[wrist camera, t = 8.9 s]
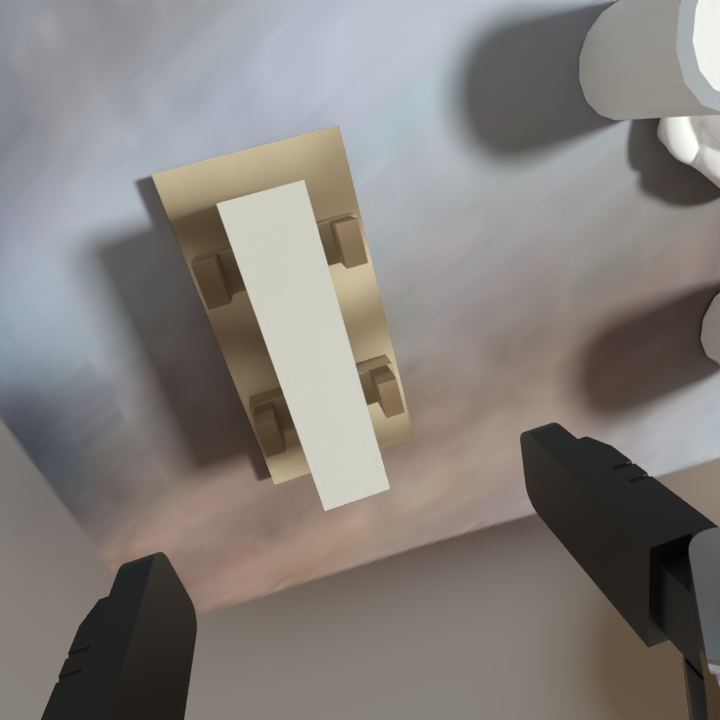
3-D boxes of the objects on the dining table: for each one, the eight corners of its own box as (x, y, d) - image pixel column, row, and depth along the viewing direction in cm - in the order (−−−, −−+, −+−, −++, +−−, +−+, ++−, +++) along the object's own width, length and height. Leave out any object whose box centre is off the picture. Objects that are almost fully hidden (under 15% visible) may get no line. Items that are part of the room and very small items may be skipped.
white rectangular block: (226, 200, 21) (216, 203, 16) (295, 181, 21) (304, 179, 16) (313, 454, 26) (324, 510, 21) (367, 436, 26) (390, 488, 22)
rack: (155, 175, 22) (131, 171, 18) (335, 127, 23) (351, 113, 19) (274, 475, 29) (276, 523, 25) (409, 430, 30) (433, 469, 26)
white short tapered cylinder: (665, 135, 26) (795, 118, 20) (557, 129, 25) (659, 108, 19) (698, -10, 24) (858, -83, 18) (581, -26, 23) (708, -111, 16)
